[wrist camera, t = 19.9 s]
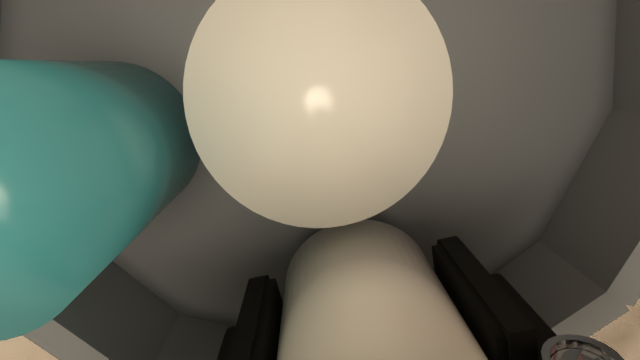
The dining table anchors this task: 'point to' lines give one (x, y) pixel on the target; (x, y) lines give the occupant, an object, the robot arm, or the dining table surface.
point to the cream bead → (369, 300)
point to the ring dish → (476, 188)
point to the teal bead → (80, 175)
